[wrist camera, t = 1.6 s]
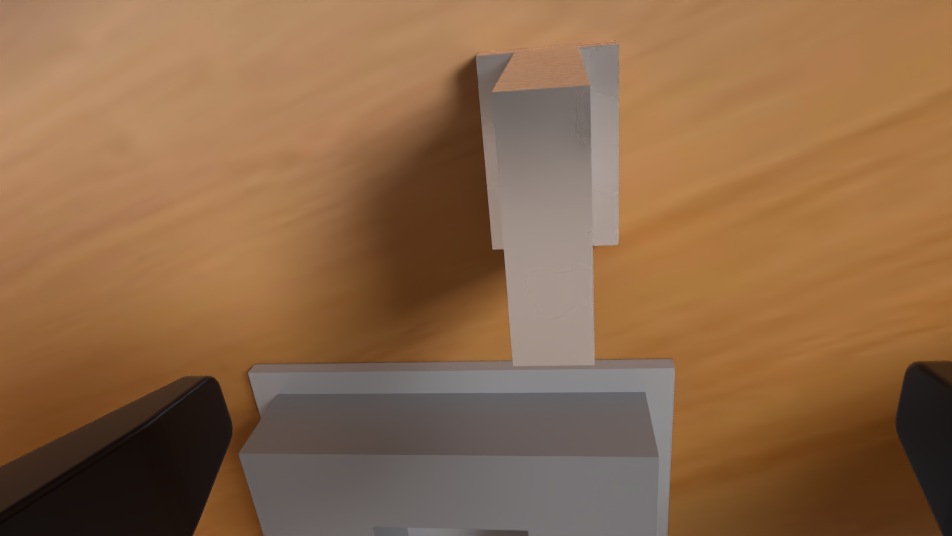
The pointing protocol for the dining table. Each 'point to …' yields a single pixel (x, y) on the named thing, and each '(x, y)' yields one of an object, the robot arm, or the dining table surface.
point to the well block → (462, 448)
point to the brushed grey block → (551, 188)
